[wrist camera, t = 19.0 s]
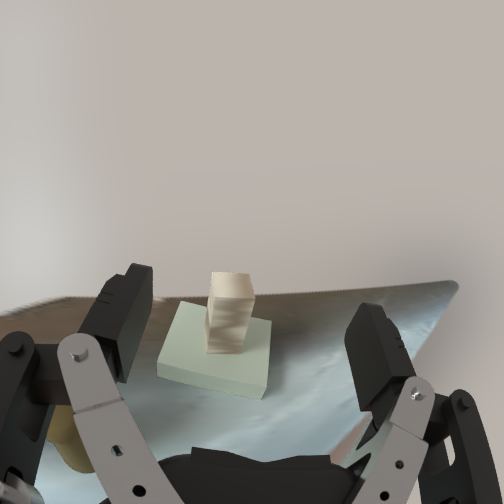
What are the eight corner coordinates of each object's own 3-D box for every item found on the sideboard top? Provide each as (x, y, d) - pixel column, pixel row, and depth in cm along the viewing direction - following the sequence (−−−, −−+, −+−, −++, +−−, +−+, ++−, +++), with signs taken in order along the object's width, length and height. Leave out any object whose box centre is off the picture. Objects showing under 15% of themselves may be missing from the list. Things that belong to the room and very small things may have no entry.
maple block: (206, 353, 38) (215, 296, 33) (204, 328, 41) (212, 271, 36) (240, 354, 39) (255, 298, 34) (235, 329, 43) (249, 273, 37)
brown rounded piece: (90, 420, 28) (66, 372, 22) (118, 459, 25) (97, 422, 20) (52, 440, 24) (15, 396, 18) (77, 481, 21) (41, 451, 15)
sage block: (157, 378, 37) (156, 361, 35) (180, 318, 47) (181, 300, 45) (259, 401, 37) (266, 386, 35) (265, 338, 48) (271, 321, 45)
